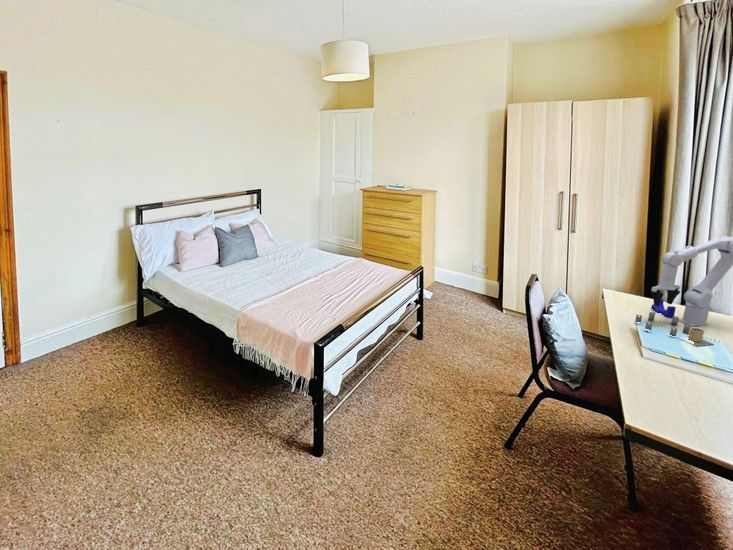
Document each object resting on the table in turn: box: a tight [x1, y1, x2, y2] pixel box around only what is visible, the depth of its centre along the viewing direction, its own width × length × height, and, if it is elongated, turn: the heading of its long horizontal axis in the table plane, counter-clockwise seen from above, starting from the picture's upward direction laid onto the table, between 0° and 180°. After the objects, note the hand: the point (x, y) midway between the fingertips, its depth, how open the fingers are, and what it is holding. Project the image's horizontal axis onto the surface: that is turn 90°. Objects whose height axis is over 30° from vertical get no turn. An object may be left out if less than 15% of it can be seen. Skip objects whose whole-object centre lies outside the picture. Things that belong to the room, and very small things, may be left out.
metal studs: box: [634, 311, 692, 337], centre depth 201 cm, size 21×20×4 cm
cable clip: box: [650, 298, 677, 319], centre depth 219 cm, size 12×4×6 cm, turn 175°
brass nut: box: [688, 327, 705, 343], centre depth 187 cm, size 4×5×5 cm
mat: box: [686, 335, 714, 347], centre depth 188 cm, size 9×9×1 cm
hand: (662, 304), depth 206 cm, fingers open, 7 cm apart
